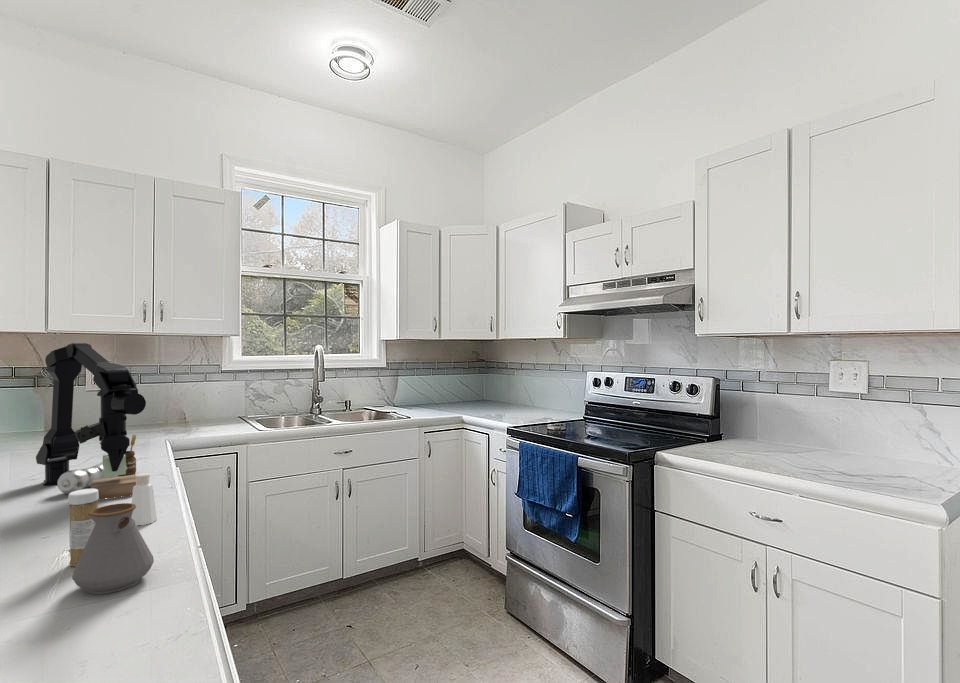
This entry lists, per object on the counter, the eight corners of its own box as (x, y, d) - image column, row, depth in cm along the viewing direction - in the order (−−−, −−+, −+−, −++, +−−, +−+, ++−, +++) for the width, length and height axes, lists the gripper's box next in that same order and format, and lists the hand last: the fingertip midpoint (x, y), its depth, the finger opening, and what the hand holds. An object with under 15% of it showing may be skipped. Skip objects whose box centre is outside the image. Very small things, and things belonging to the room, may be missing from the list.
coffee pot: (70, 582, 92) (68, 495, 92) (147, 563, 99) (146, 483, 99) (79, 633, 75) (78, 527, 75) (171, 606, 83) (170, 509, 83)
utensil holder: (109, 475, 167) (108, 437, 167) (129, 471, 173) (128, 434, 173) (121, 477, 165) (121, 438, 165) (141, 472, 171) (141, 435, 171)
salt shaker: (162, 519, 124) (161, 472, 124) (141, 527, 119) (140, 478, 119) (145, 517, 126) (144, 470, 126) (123, 524, 121) (122, 476, 121)
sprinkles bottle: (79, 558, 102) (78, 488, 102) (104, 557, 103) (103, 487, 103) (63, 568, 98) (62, 495, 98) (89, 567, 98) (88, 494, 98)
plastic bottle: (74, 471, 145) (130, 456, 165) (52, 473, 145) (110, 457, 165) (76, 495, 145) (132, 477, 164) (53, 496, 145) (111, 478, 165)
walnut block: (93, 494, 148) (93, 479, 148) (136, 488, 154) (135, 474, 154) (90, 502, 140) (90, 487, 140) (136, 496, 145) (136, 481, 145)
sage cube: (124, 470, 150) (124, 453, 150) (125, 474, 146) (125, 456, 146) (102, 473, 147) (102, 455, 147) (103, 477, 143) (103, 458, 143)
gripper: (76, 412, 149) (77, 467, 149) (76, 419, 134) (77, 481, 134) (124, 408, 156) (125, 461, 156) (129, 415, 141) (130, 474, 141)
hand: (114, 469), depth 147 cm, fingers closed on sage cube, 5 cm apart
